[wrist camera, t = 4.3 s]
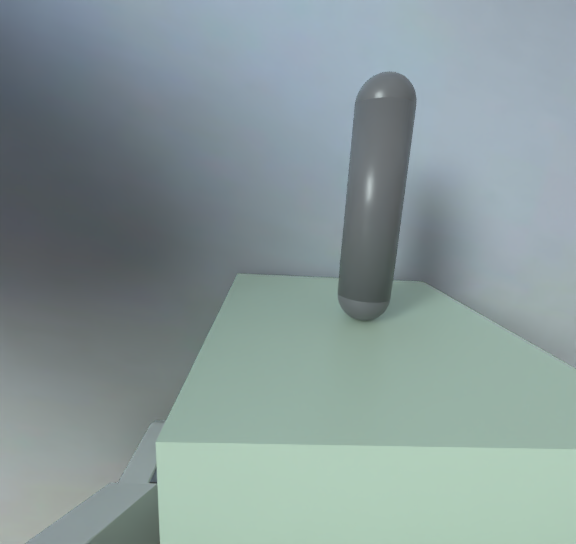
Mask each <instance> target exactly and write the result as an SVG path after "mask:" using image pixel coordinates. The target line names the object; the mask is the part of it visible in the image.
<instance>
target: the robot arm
mask: <svg viewBox="0 0 576 544" xmlns="http://www.w3.org/2000/svg"><path fill="white" fill-rule="evenodd" d="M165 422H166V421H163V420H155V421H154V422H152V423H151V424H150V426H149V427H148V429H147V431H146V433H145V435H144V436H143V438H142V440H141V442H140V444H139V446H138V447H137V449H136V451H135V453H134V455H133V456H132V458H131V460H130V462H129V464H128V465H127V467H126V469H125V471H124V473H123V474H122V476H121V478H120V480H119V482H118V483H109V484H108V485H106V486H105V487H103V488H102V489H101V490H99V491H98V492H96V493H95V494H94V495H92V496H91V497H89V498H88V499H87V500H85V501H84V502H82V503H81V504H80V505H78V506H77V507H75V508H74V509H73V510H71V511H70V512H68V513H67V514H66V515H64V516H63V517H61V518H60V519H59V520H57V521H56V522H54V523H53V524H52V525H50V526H49V527H47V528H46V529H44V530H43V531H42V532H40V533H39V534H37V535H36V536H35V537H33V538H32V539H30V540H29V541H28V542H26V543H25V544H160V533H159V510H158V487H157V464H156V440H157V438H158V436H159V434H160V432H161V430H162V428H163V426H164V424H165Z"/></svg>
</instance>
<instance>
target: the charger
mask: <svg viewBox="0 0 576 544" xmlns="http://www.w3.org/2000/svg"><path fill="white" fill-rule="evenodd" d="M415 110H416V93H415V90H414V87H413V85H412V84H411V82H410V81H409V80H408V79H407V78H406V77H405V76H403V75H402V74H399V73H396V72H382V73H379V74H377V75H375V76H373V77H372V78H370V79H369V80H368V81H367V82H366V83H365V84H364V85H363V86H362V88H361V89H360V91H359V93H358V95H357V98H356V102H355V109H354V120H353V131H352V141H351V152H350V163H349V174H348V184H347V195H346V206H345V217H344V228H343V238H342V249H341V260H340V271H339V278H329V277H306V276H283V275H260V274H237V276H236V278H235V280H234V282H233V284H232V286H231V288H230V290H229V292H228V294H227V296H226V298H225V300H224V302H223V304H222V306H221V309H220V311H219V313H218V315H217V317H216V319H215V321H214V323H213V325H212V327H211V329H210V331H209V333H208V335H207V337H206V339H205V341H204V343H203V346H202V348H201V350H200V352H199V354H198V356H197V358H196V360H195V362H194V364H193V366H192V368H191V370H190V372H189V374H188V376H187V378H186V381H185V383H184V385H183V387H182V389H181V391H180V393H179V395H178V397H177V399H176V401H175V403H174V405H173V407H172V409H171V411H170V413H169V415H168V418H167V420H166V422H165V424H164V426H163V428H162V430H161V432H160V434H159V436H158V438H157V440H156V464H157V487H158V510H159V533H160V544H576V369H575V368H574V367H572V366H570V365H568V364H567V363H565V362H563V361H561V360H560V359H558V358H556V357H554V356H553V355H551V354H549V353H547V352H546V351H544V350H542V349H540V348H539V347H537V346H535V345H533V344H532V343H530V342H528V341H526V340H525V339H523V338H521V337H519V336H518V335H516V334H514V333H512V332H511V331H509V330H507V329H505V328H504V327H502V326H500V325H498V324H497V323H495V322H493V321H491V320H490V319H488V318H486V317H484V316H483V315H481V314H479V313H477V312H476V311H474V310H472V309H470V308H469V307H467V306H465V305H463V304H462V303H460V302H458V301H456V300H455V299H453V298H451V297H449V296H448V295H446V294H444V293H442V292H441V291H439V290H437V289H435V288H434V287H432V286H430V285H428V284H427V283H425V282H420V281H397V280H393V277H394V269H395V262H396V254H397V247H398V239H399V231H400V224H401V216H402V209H403V201H404V194H405V186H406V178H407V171H408V163H409V156H410V148H411V140H412V133H413V125H414V118H415Z"/></svg>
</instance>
